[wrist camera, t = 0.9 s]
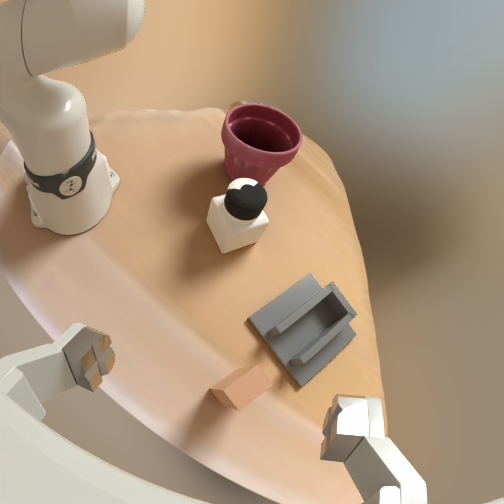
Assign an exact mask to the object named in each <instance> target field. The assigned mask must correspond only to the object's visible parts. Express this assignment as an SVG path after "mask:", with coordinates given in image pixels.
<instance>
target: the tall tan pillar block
mask: <svg viewBox="0 0 504 504" xmlns="http://www.w3.org/2000/svg"><path fill="white" fill-rule="evenodd" d="M272 385H273V383H272V382H271V381H270V380H269V378H268V377H267V376H266V374H265V373H264V372H263V370H262V369H261V368H260V367H259V365H254V366H250V367H246V368H242V369H238V370H235V371H234V372H232V373H231V374H229V375H228V376H227V377H225V378H224V379H222V380H221V381H219V382H218V383H217V384H215V385H214V386H212V387H211V388H209V389H210V390H211V391H212V393H213V394H214V395H215V397H216V398H217V399H218V401H219V402H220V403H221V404H222V405H225V406H228V407H230V408H233V409H236V410H241V409H242V408H244V407H245V406H246V405H248V404H249V403H250V402H252V401H253V400H254V399H256V398H257V397H258V396H259V395H261V394H262V393H263V392H265V391H266V390H267V389H268V388H270V387H271V386H272Z"/></svg>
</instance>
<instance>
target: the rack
mask: <svg viewBox="0 0 504 504" xmlns="http://www.w3.org/2000/svg"><path fill="white" fill-rule="evenodd" d="M356 315H357V314H356V312H355V311H354V309H353V308H352V307H351V305H350V304H349V303H348V301H347V300H346V299H345V297H344V296H343V295H342V293H341V292H340V291H339V289H338V288H337V287H336V285H335V284H334V283H333V281H332V282H331V283H330V284H328V285H327V286H325V287H324V288H323V289H322V288H321V286H320V285H319V284H318V282H317V281H316V280H315V278H314V277H313V276H312V274H311V273H310V274H308V275H307V276H306V277H304V278H303V279H301V280H300V281H299V282H297V283H296V284H295V285H293V286H292V287H291V288H289V289H288V290H286V291H285V292H284V293H282V294H281V295H280V296H278V297H277V298H275V299H274V300H273V301H271V302H270V303H268V304H267V305H266V306H264V307H263V308H261V309H260V310H258V311H257V312H256V313H254V314H253V315H251V316H250V317H249V318H248V320H249V321H250V322H251V324H252V325H253V327H254V328H255V329H256V331H257V332H258V333H259V335H260V336H261V337H262V339H263V340H264V341H265V343H266V344H267V345H268V347H269V348H270V349H271V351H272V352H273V353H274V355H275V356H276V357H277V359H278V360H279V361H280V362H281V364H282V365H283V366H284V368H285V369H286V370H287V372H288V373H289V374H290V375H291V377H292V378H293V379H294V381H295V382H296V383H297V384H298V386H299V387H301V386H303V385H304V384H305V383H306V382H307V381H309V380H310V379H311V378H312V377H313V376H314V375H315V374H316V373H317V372H318V371H320V370H321V369H322V368H323V367H324V366H325V365H326V364H327V363H328V362H329V361H330V360H331V359H332V358H333V357H334V356H336V355H337V354H338V353H339V352H340V351H341V350H342V349H343V348H344V347H345V346H346V345H347V344H348V343H349V342H350V341H351V340H352V339H353V338H354V337H355V336H356V333H355V332H354V331H353V329H352V328H351V327H350V325H349V324H348V323H349V322H350V321H351V320H352V319H353V318H354V317H355V316H356Z"/></svg>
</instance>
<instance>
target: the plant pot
mask: <svg viewBox="0 0 504 504" xmlns="http://www.w3.org/2000/svg"><path fill="white" fill-rule="evenodd" d="M221 137H222V141H223V144H224V146H225V170H226V173H227V176H228V177H229V178H230V180H231V181H234V180H236V179H239V178H249V179H253V180H255V181H257V182H258V183H260V184H261V185H262V186H263V185H264V184H265V183H266V182H267V181H268V180H269V179H270V178H271V177H272V176H273V175H274V174H275V172H276V171H277V170H278V169H279V168H280V167H282V166H285V165H286V164H288V163H289V162H291V161H292V159H293V158H294V157H295V155H296V153H297V151H298V149H299V147H300V145H301V143H302V133H301V130H300V129H299V127H298V125H297V124H296V123H295V122H294V121H293V120H292V119H291V118H290V117H289V116H288V115H286V114H285V113H283V112H281V111H279V110H277V109H275V108H273V107H270V106H266V105H262V104H242V105H239V106H236V107H234V108H232V109H231V110H230V111H229V112H228V113H227V115H226V117H225V120H224V124H223V127H222V132H221Z"/></svg>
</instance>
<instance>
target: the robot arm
mask: <svg viewBox="0 0 504 504" xmlns="http://www.w3.org/2000/svg"><path fill="white" fill-rule="evenodd" d="M144 10H145V6H144V0H8V1H6V2H3V3H1V4H0V121H1V122H2V123H3V124H4V125H5V127H6V128H7V129H8V130H9V132H10V133H11V135H12V137H13V139H14V141H15V142H16V144H17V146H18V148H19V151H20V153H21V155H22V157H23V159H24V168H25V170H26V171H25V172H26V173H25V174H24V177H25V181H26V184H29V185H27V186H26V190H27V192H28V197H29V199H30V204H31V221H32V223H33V225H34V226H35V227H38V228H48V229H50V230H52V231H53V232H55V233H58V234H62V235H74V234H78V233H82V232H84V231H86V230H88V229H90V228H92V227H93V226H94V225H96V224H97V223H98V222H99V221H100V220H101V219H102V218H103V217H104V215H105V214H106V212H107V210H108V208H109V206H110V203H111V198H112V194H113V192H114V191H115V190H116V188H117V187H118V185H119V183H120V179H119V176H118V175H117V174H116V173H115V172H114V171H113V170H112V169H111V168H110V166H109V165H108V163H107V159H106V157H105V156H103V155H102V154H101V153H100V152H99V151H98V150H97V149H96V143H95V139H94V137H93V134H92V132H91V131H90V129H89V123H88V117H87V110H86V103H85V99H84V97H83V95H82V94H81V93H80V92H79V91H78V90H77V89H76V88H75V87H74V86H73V85H71V84H69V83H66V82H62V81H57V80H53V79H50V78H47V77H45V76H44V75H43V74H44V73H48V72H51V71H55V70H59V69H62V68H66V67H70V66H74V65H79V64H83V63H88V62H90V61H93V60H96V59H99V58H101V57H104V56H107V55H110V54H112V53H115V52H118V51H121V50H123V49H125V48H126V47H127V46H128V45H129V44H130V43H131V41H132V40H133V39H134V38H135V36H136V34H137V33H138V31H139V29H140V27H141V24H142V22H143V18H144ZM36 215H37V216H36ZM111 343H112V342H111V339H110V336H109V335H107V334H104V333H102V332H100V331H97V330H95V329H93V328H91V327H88V326H86V325H84V324H82V323H79V322H77V323H74V324H73V325H72V326H71V327H70V328H69V329H68V330H67V331H66V332H64V333H63V334H62V335H61V336H60V337H59V338H58V339H57V340H56V341H55V342H54V343H53V344H52V345H51V344H46V345H42V346H39V347H35V348H32V349H28V350H25V351H22V352H18V353H15V354H11V355H8V356H5V357H3V358H2V359H0V504H211V503H207V502H204V501H201V500H197V499H194V498H190V497H188V496H185V495H182V494H179V493H176V492H173V491H170V490H168V489H165V488H162V487H160V486H157V485H155V484H152V483H150V482H147V481H145V480H143V479H140V478H138V477H136V476H133V475H131V474H129V473H127V472H125V471H123V470H121V469H119V468H117V467H115V466H112V465H111V464H109V463H107V462H105V461H103V460H101V459H99V458H97V457H96V456H94V455H92V454H90V453H88V452H87V451H85V450H83V449H82V448H80V447H78V446H76V445H75V444H73V443H72V442H70V441H68V440H67V439H65V438H64V437H62V436H60V435H59V434H58V433H56V432H55V431H53V430H52V429H50V428H49V427H47V426H46V425H45V424H43V423H42V422H40V421H41V420H42V419H43V417H44V416H45V415H46V412H45V410H44V408H43V407H42V406H41V402H43V401H46V400H48V399H50V398H52V397H54V396H56V395H58V394H60V393H62V392H64V391H66V390H68V389H71V388H73V387H75V386H76V385H79V386H81V387H83V388H85V389H88V390H90V391H92V392H94V391H95V390H96V389H97V387H98V386H99V385H100V384H101V382H102V376H103V375H106V374H109V372H110V371H111V370H112V368H113V365H114V362H115V354H114V351H113V350H112V348H111V347H110V344H111ZM322 433H323V435H324V436H325V438H324V440H323V442H322V443H321V454H320V460H328V461H336V462H344V465H345V467H346V469H347V471H348V472H349V474H350V476H351V478H352V480H353V482H354V483H355V485H356V487H357V489H358V491H359V493H360V494H361V496H362V498H363V500H364V502H363V503H362V504H427V494H426V483H425V482H424V481H423V479H422V478H421V477H420V476H419V474H418V473H417V472H416V471H415V469H414V468H413V467H412V466H411V464H410V463H409V462H408V461H407V460H406V458H405V457H404V456H403V455H402V454H401V452H400V451H399V450H398V448H397V447H396V446H395V445H394V443H393V442H392V441H391V440H390V438H387V437H385V433H384V422H383V413H382V404H381V400H380V398H372V397H364V396H353V395H344V394H336V395H335V397H334V399H333V402H332V407H330V408H329V409H328V411H327V413H326V416H325V419H324V424H323V432H322ZM484 504H504V497H503V498H500V499H496V500H494V501H490V502H487V503H484Z"/></svg>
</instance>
